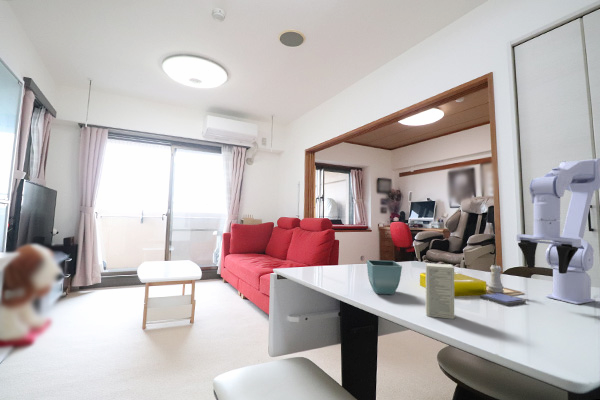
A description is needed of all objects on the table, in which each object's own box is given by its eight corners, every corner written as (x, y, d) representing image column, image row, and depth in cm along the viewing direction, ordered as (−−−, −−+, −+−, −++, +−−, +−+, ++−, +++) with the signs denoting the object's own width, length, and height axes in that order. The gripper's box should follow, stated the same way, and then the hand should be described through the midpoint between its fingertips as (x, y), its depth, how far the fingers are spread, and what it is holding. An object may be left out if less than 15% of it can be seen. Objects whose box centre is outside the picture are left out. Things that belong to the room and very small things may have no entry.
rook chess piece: (506, 293, 94) (507, 267, 94) (490, 292, 95) (491, 266, 95) (500, 290, 98) (500, 264, 99) (484, 289, 99) (485, 264, 99)
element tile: (446, 298, 91) (446, 281, 91) (417, 285, 106) (417, 271, 106) (489, 296, 94) (489, 280, 94) (455, 284, 109) (455, 270, 109)
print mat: (490, 285, 107) (490, 283, 107) (524, 293, 97) (524, 291, 97) (468, 287, 103) (468, 286, 103) (501, 297, 93) (501, 295, 93)
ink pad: (497, 295, 94) (497, 292, 94) (525, 303, 87) (525, 299, 87) (479, 297, 91) (479, 294, 91) (507, 306, 84) (507, 302, 84)
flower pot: (402, 297, 90) (402, 266, 90) (371, 296, 90) (372, 265, 90) (393, 289, 98) (393, 260, 99) (365, 288, 99) (366, 260, 99)
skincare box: (452, 314, 76) (452, 264, 76) (454, 320, 72) (455, 267, 72) (424, 310, 78) (425, 262, 78) (425, 316, 74) (426, 265, 74)
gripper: (510, 219, 90) (509, 266, 89) (570, 221, 76) (569, 276, 76) (525, 219, 92) (524, 264, 92) (585, 221, 79) (585, 275, 79)
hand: (546, 270), depth 84 cm, fingers open, 7 cm apart
